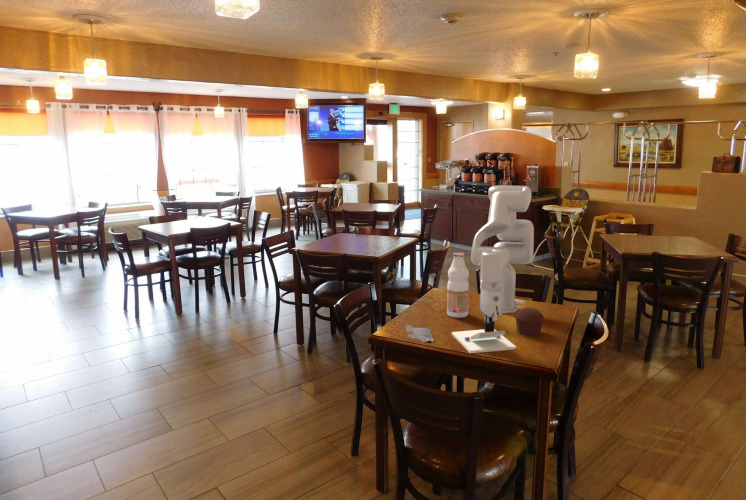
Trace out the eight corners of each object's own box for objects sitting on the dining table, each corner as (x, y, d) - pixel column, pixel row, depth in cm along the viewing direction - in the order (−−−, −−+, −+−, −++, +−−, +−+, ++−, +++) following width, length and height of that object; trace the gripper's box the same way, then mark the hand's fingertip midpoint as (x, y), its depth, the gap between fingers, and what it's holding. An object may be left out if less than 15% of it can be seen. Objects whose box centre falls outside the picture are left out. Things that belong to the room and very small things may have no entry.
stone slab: (404, 325, 219) (427, 323, 219) (404, 329, 219) (427, 327, 220) (409, 342, 201) (435, 339, 202) (409, 346, 202) (435, 344, 202)
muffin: (508, 329, 214) (509, 306, 212) (530, 326, 218) (531, 303, 216) (527, 339, 203) (528, 314, 201) (550, 335, 208) (551, 311, 206)
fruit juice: (443, 316, 232) (444, 254, 227) (451, 310, 240) (452, 250, 235) (463, 319, 228) (464, 256, 222) (471, 313, 235) (472, 252, 230)
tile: (504, 330, 193) (505, 333, 193) (494, 334, 202) (495, 337, 202) (479, 332, 191) (479, 336, 191) (470, 336, 200) (470, 339, 200)
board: (493, 330, 213) (493, 325, 213) (516, 349, 194) (516, 343, 193) (451, 334, 210) (451, 329, 209) (470, 353, 190) (470, 347, 190)
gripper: (509, 289, 185) (507, 338, 189) (491, 279, 199) (490, 324, 203) (489, 290, 184) (487, 340, 187) (473, 280, 198) (472, 326, 202)
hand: (489, 332), depth 195 cm, fingers closed
